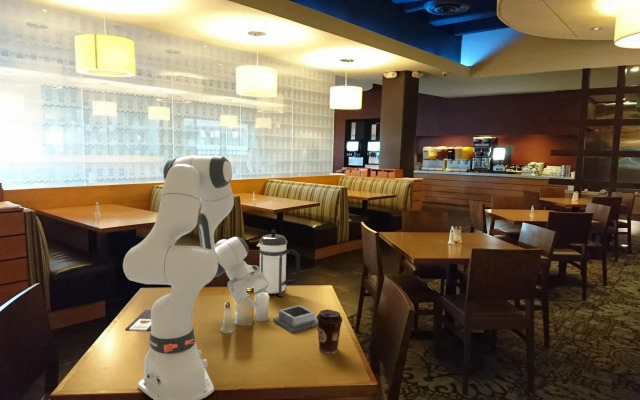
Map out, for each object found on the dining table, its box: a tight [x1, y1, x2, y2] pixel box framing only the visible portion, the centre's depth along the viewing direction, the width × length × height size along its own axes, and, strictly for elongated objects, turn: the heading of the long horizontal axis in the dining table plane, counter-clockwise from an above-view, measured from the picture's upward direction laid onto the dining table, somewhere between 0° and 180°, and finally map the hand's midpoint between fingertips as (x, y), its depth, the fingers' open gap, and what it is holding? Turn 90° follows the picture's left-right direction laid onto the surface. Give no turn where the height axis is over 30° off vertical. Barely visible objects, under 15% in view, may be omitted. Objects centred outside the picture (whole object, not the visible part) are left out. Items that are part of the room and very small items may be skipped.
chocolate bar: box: [124, 309, 151, 332], centre depth 161 cm, size 9×1×18 cm
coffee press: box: [256, 229, 301, 298], centre depth 195 cm, size 17×16×30 cm
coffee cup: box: [315, 309, 343, 355], centre depth 141 cm, size 9×8×13 cm
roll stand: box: [272, 304, 318, 334], centre depth 162 cm, size 13×13×5 cm
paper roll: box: [254, 292, 270, 323], centre depth 165 cm, size 5×5×10 cm
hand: (261, 303), depth 165 cm, fingers open, 8 cm apart
